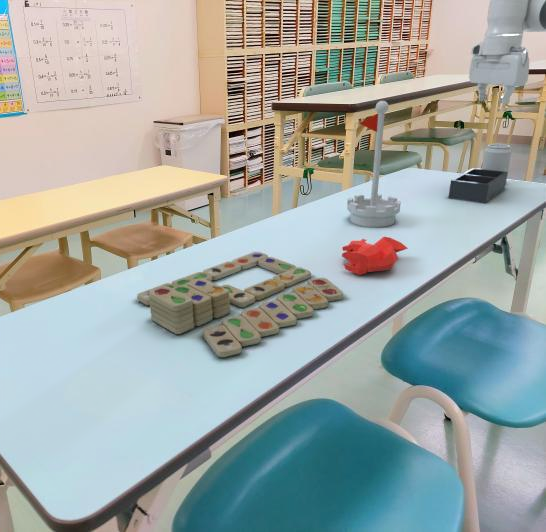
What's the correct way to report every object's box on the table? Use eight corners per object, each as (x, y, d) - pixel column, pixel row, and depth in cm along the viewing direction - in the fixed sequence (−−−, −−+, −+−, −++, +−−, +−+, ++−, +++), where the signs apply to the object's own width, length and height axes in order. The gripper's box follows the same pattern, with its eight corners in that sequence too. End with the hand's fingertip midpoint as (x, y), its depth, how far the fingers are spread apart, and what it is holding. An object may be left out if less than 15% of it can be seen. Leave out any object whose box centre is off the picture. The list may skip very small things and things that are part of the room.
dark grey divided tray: (504, 188, 159) (508, 171, 157) (485, 203, 146) (488, 184, 144) (469, 184, 165) (472, 168, 163) (448, 198, 152) (450, 180, 150)
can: (481, 185, 164) (487, 146, 159) (477, 179, 170) (483, 142, 166) (508, 186, 162) (515, 147, 157) (502, 180, 168) (509, 143, 164)
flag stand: (389, 212, 142) (401, 97, 130) (405, 227, 130) (419, 102, 118) (341, 213, 142) (348, 99, 131) (352, 229, 130) (362, 104, 119)
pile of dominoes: (222, 364, 76) (221, 331, 74) (123, 305, 96) (120, 277, 94) (360, 292, 97) (362, 264, 95) (255, 255, 116) (255, 231, 114)
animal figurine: (414, 259, 110) (417, 237, 108) (381, 282, 100) (384, 257, 99) (364, 247, 118) (366, 226, 116) (329, 267, 108) (330, 245, 106)
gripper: (540, 46, 128) (530, 104, 133) (489, 47, 147) (481, 98, 152) (516, 47, 127) (506, 106, 133) (468, 48, 146) (461, 99, 151)
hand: (493, 101), depth 142 cm, fingers open, 8 cm apart
